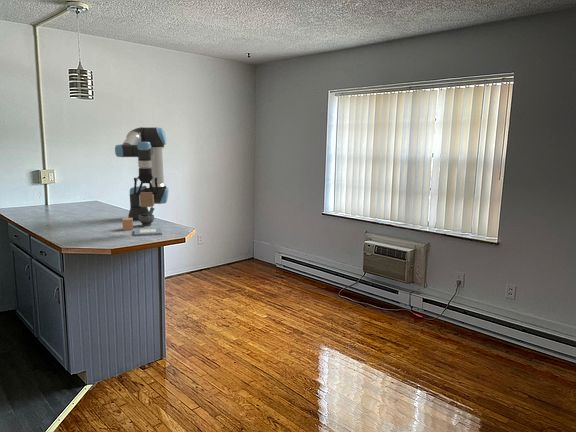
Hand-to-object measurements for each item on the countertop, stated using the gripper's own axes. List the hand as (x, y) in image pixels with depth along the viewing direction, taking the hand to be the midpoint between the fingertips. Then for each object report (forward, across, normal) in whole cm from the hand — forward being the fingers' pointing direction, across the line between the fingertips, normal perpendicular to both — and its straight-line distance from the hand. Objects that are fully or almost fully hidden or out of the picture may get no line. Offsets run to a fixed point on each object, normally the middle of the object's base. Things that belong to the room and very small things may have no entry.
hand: (146, 205), depth 269 cm
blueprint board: (+17, 0, 0) cm, 17 cm away
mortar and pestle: (+17, 0, +24) cm, 29 cm away
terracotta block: (+17, -12, +14) cm, 25 cm away
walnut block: (0, 0, 0) cm, 0 cm away
